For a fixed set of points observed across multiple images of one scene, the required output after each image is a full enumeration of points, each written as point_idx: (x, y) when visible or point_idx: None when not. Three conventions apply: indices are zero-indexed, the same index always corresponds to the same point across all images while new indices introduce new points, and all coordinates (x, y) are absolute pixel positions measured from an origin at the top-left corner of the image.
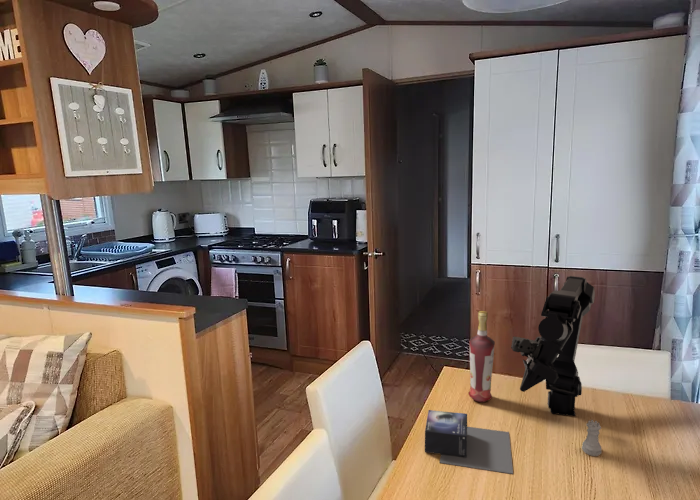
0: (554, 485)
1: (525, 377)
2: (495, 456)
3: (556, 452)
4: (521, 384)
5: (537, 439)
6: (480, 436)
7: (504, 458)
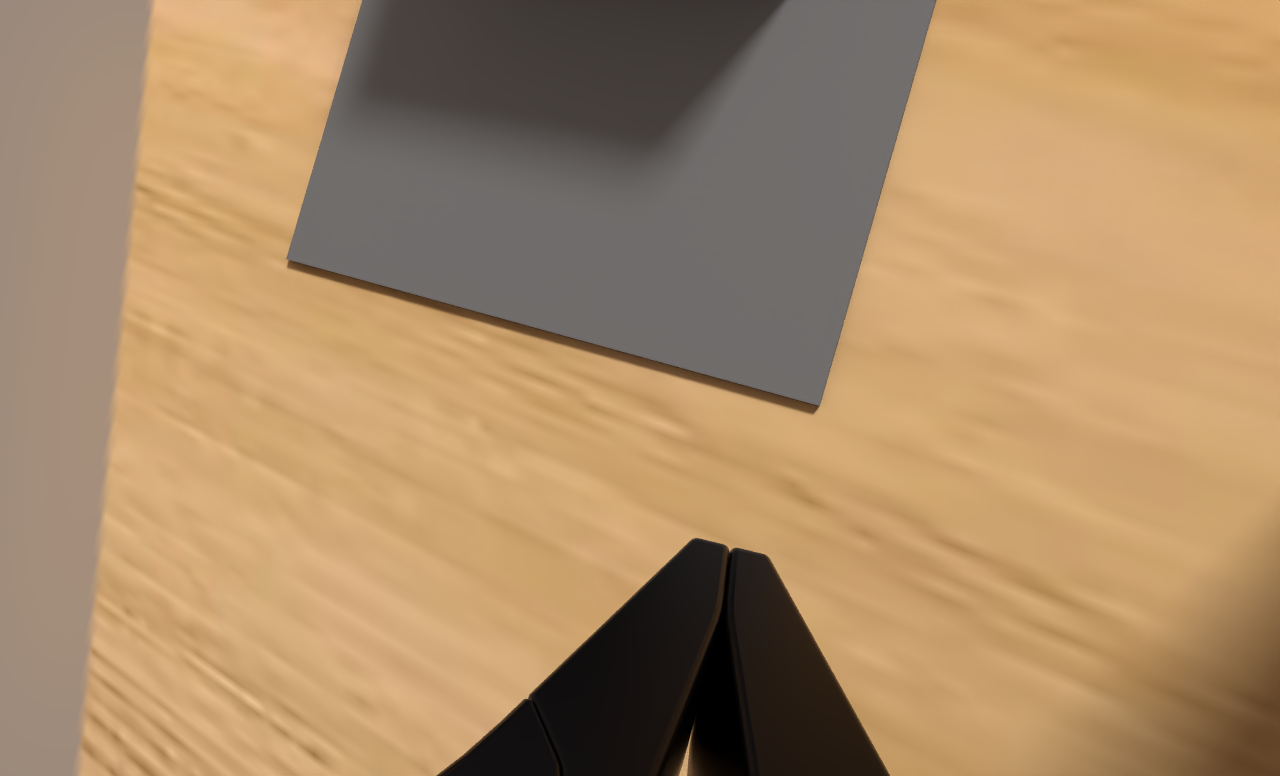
0: (173, 511)
1: (527, 748)
2: (472, 177)
3: None
4: (752, 610)
5: None
6: (755, 105)
7: (441, 242)
